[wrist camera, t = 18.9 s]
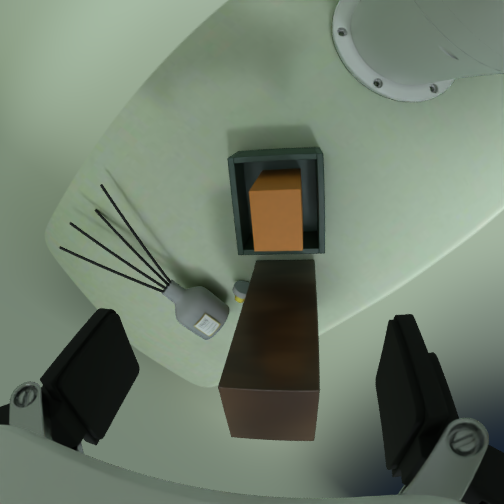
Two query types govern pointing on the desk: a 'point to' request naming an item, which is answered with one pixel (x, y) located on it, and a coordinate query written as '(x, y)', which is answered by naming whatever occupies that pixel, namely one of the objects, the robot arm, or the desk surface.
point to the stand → (275, 356)
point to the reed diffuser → (178, 290)
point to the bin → (313, 200)
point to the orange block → (277, 210)
